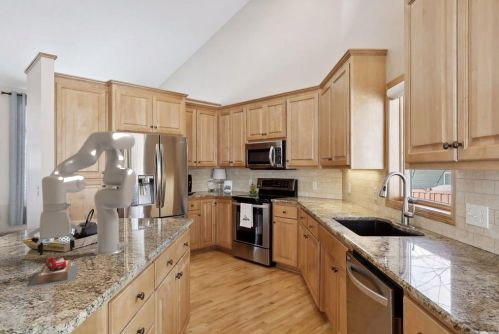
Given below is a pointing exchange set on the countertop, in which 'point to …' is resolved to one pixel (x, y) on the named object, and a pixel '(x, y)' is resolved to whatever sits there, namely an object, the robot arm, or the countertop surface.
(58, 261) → the race car
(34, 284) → the gray board
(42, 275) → the tan flat block
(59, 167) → the robot arm
